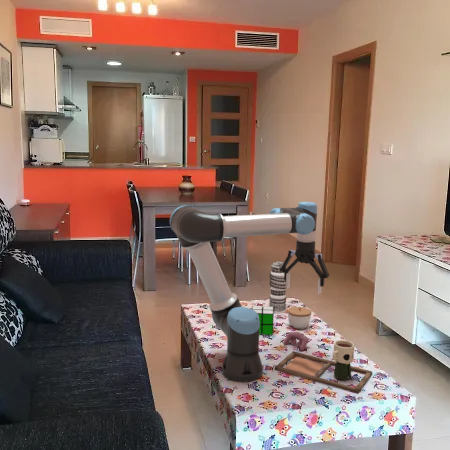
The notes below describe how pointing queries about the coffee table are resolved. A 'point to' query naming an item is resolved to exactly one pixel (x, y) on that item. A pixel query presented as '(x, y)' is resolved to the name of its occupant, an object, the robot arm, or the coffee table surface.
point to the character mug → (343, 358)
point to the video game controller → (297, 335)
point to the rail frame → (311, 368)
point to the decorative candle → (277, 288)
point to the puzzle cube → (265, 319)
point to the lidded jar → (299, 317)
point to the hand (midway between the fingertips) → (303, 291)
